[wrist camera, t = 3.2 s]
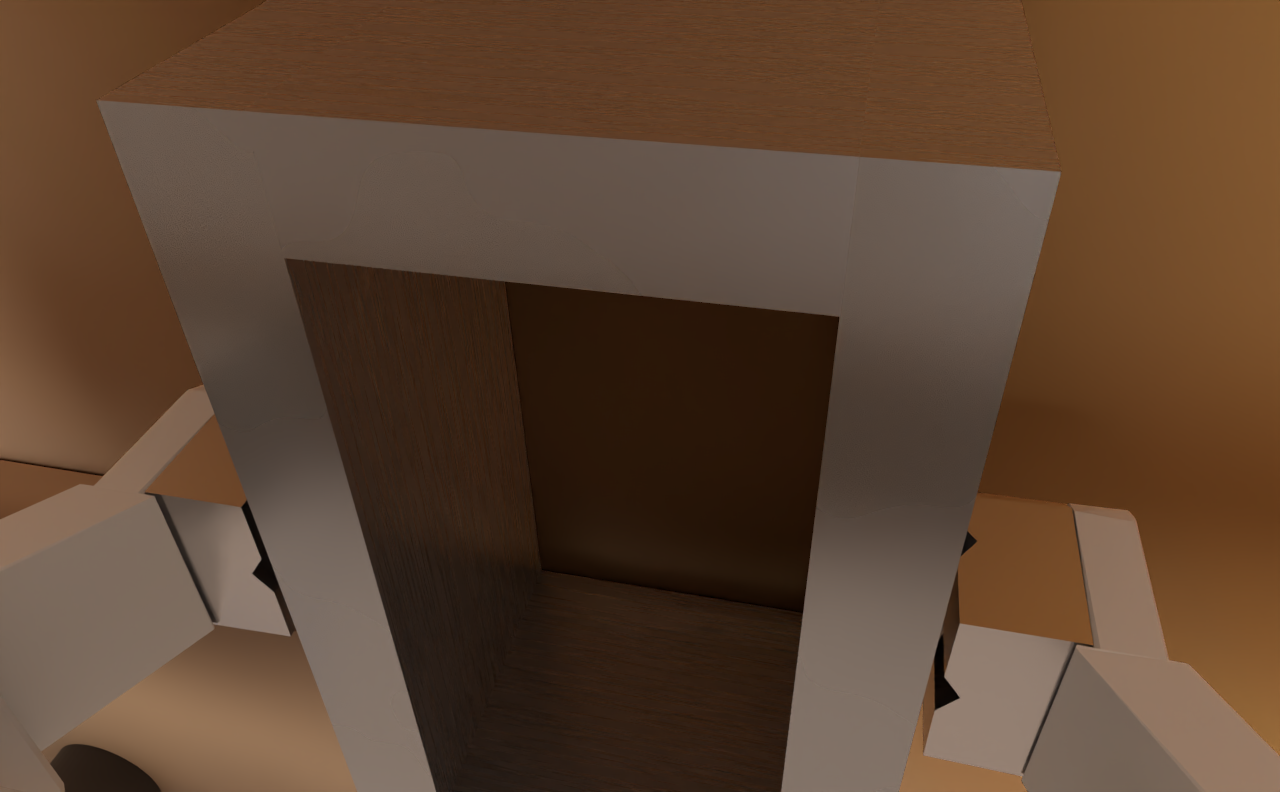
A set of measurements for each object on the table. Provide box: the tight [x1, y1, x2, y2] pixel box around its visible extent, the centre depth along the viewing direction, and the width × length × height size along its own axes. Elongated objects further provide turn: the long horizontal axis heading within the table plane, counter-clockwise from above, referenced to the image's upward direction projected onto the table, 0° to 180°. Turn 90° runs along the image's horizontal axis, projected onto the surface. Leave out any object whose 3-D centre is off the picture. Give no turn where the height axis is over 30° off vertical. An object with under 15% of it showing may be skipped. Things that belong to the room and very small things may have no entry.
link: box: [96, 0, 1061, 792], centre depth 10 cm, size 9×6×4 cm, turn 0°
